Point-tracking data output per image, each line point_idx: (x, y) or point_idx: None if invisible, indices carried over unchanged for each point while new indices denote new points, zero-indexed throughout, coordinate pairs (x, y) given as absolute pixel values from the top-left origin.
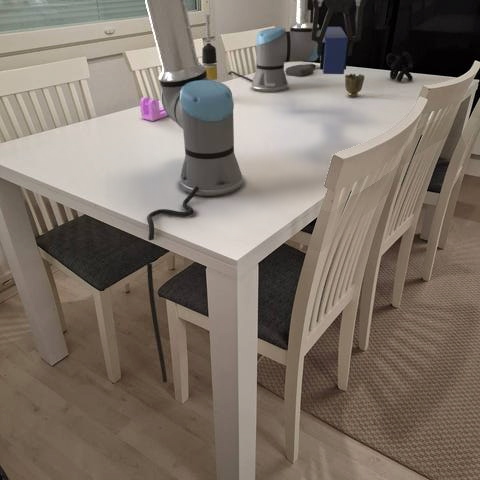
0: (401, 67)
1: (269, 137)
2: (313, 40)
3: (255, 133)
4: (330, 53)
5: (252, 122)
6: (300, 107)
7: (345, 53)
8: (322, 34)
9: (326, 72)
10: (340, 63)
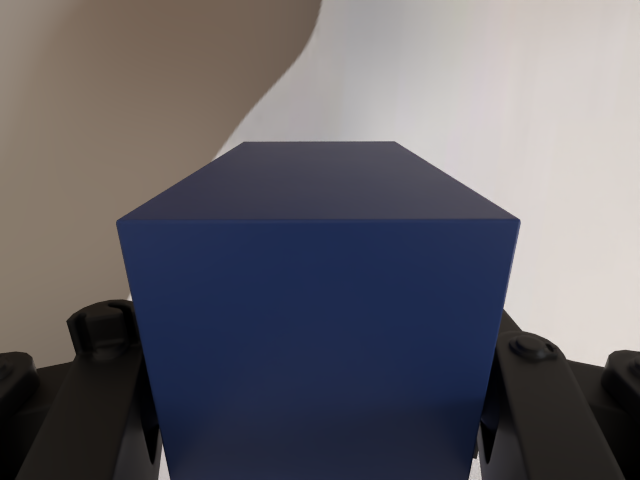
0: None
1: (502, 192)
2: (627, 352)
3: (543, 227)
4: (376, 170)
5: (539, 326)
6: None
7: (206, 170)
8: (555, 414)
9: (374, 143)
10: (265, 153)
